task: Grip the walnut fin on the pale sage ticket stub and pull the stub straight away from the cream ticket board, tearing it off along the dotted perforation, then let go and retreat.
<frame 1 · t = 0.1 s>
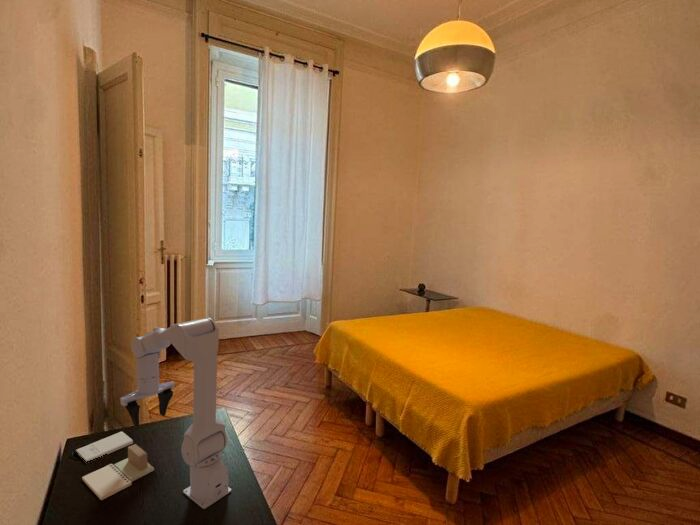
hand: (149, 419, 110), 10 cm above the table, fingers open, 7 cm apart
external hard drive: (105, 450, 113), on the table
stub: (133, 460, 103), point 3 cm above the table, slide at 0.0 cm
ticket board: (106, 482, 98), on the table
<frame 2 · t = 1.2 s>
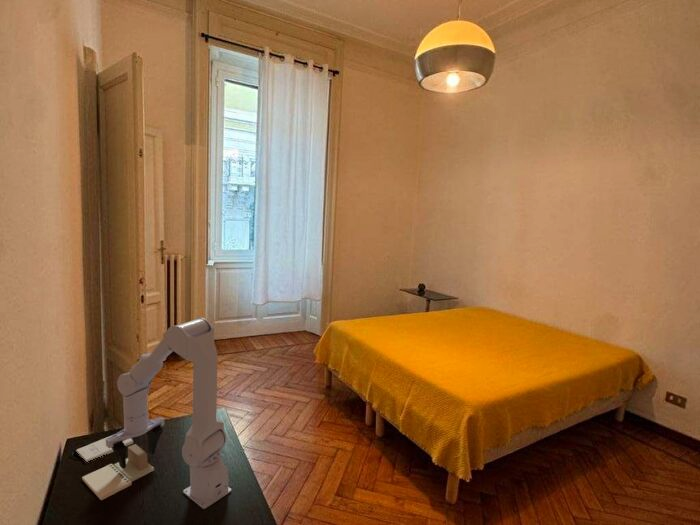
hand: (137, 459, 104), 2 cm above the table, fingers open, 7 cm apart
nothing on the table moved.
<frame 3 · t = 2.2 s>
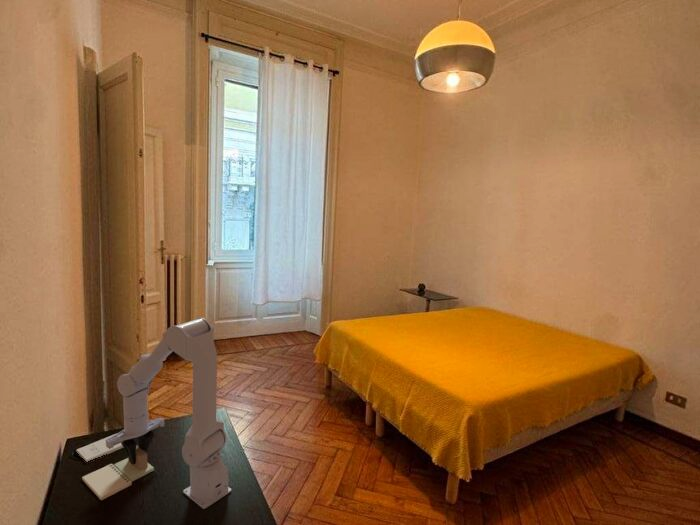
hand: (137, 460, 104), 2 cm above the table, fingers closed on stub, 2 cm apart
stub: (133, 460, 103), point 3 cm above the table, slide at 0.0 cm, touching gripper
everything else where it was.
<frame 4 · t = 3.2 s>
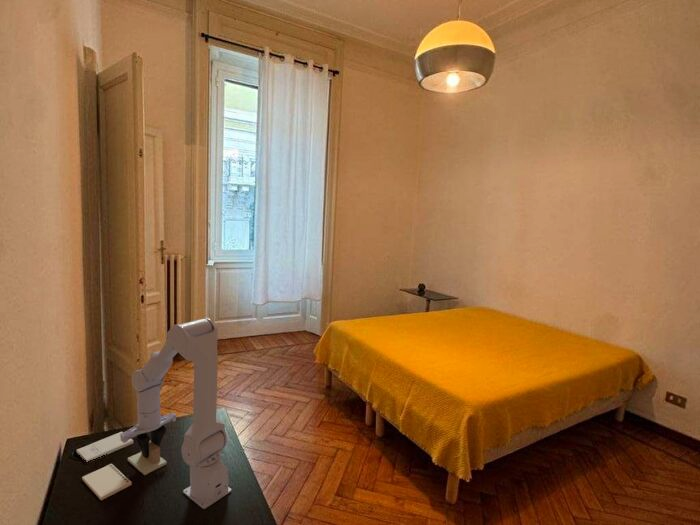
hand: (150, 454, 107), 2 cm above the table, fingers closed on stub, 2 cm apart
stub: (146, 454, 106), point 3 cm above the table, slide at 3.5 cm, touching gripper
everything else where it was.
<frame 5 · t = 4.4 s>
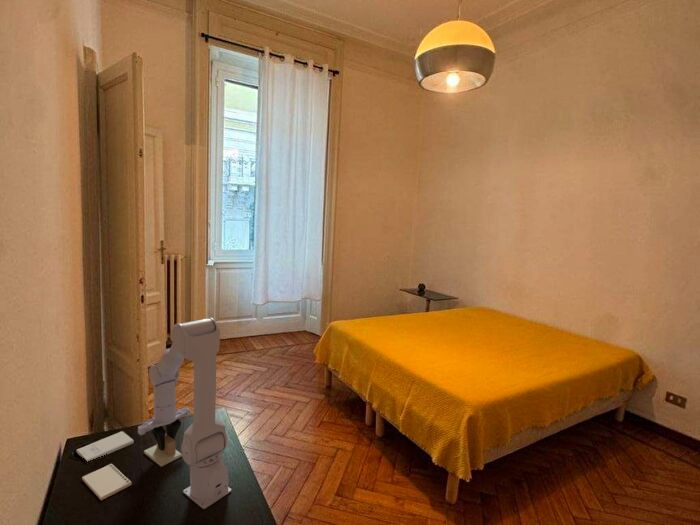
hand: (166, 447, 110), 2 cm above the table, fingers closed on stub, 2 cm apart
stub: (162, 446, 109), point 3 cm above the table, slide at 8.0 cm, touching gripper
everything else where it was.
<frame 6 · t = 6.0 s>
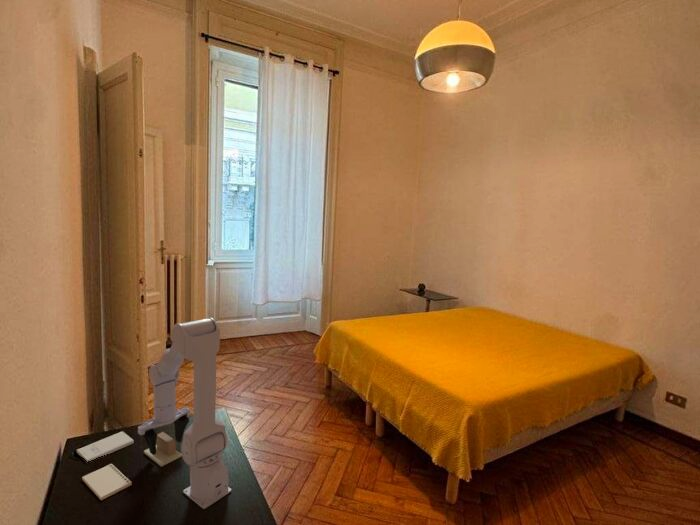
hand: (166, 446, 110), 2 cm above the table, fingers open, 7 cm apart
stub: (162, 446, 109), point 3 cm above the table, slide at 8.0 cm
everything else where it was.
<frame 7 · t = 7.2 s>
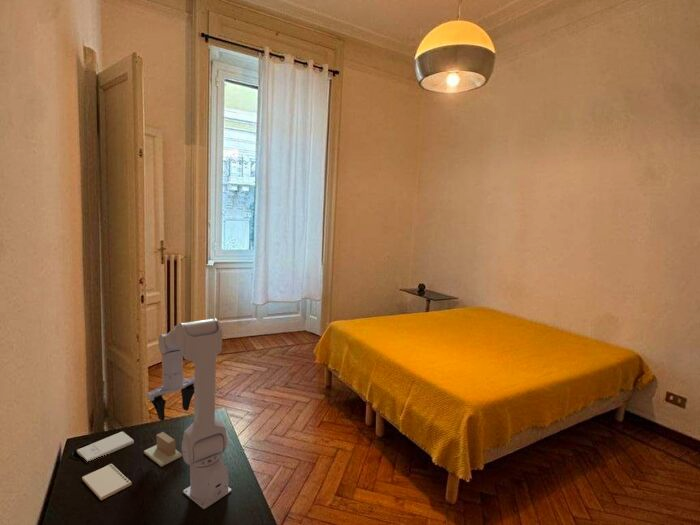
hand: (173, 414, 115), 9 cm above the table, fingers open, 7 cm apart
nothing on the table moved.
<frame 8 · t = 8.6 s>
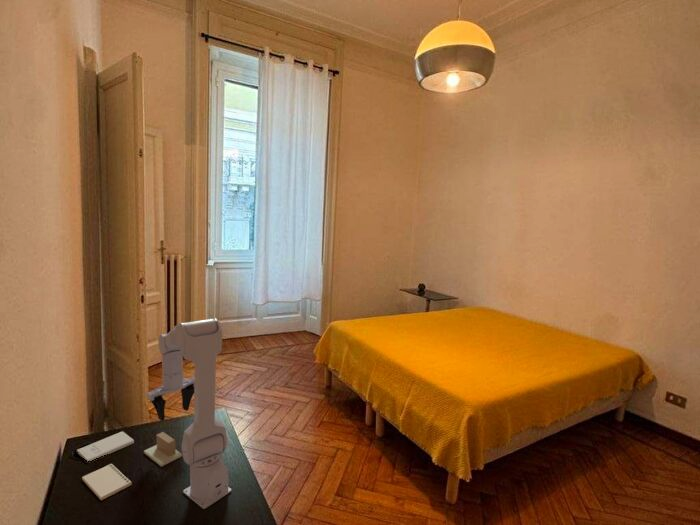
hand: (173, 414, 115), 9 cm above the table, fingers open, 7 cm apart
nothing on the table moved.
at the end: stub slide at 8.0 cm; the gripper is holding nothing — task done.
